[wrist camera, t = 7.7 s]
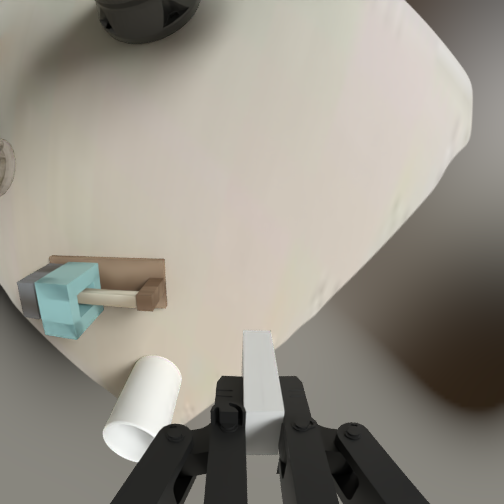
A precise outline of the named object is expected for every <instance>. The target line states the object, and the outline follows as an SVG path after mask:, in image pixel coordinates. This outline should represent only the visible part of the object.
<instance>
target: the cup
mask: <svg viewBox="0 0 504 504" xmlns="http://www.w3.org/2000/svg"><path fill="white" fill-rule="evenodd" d="M181 382H182V376H181V373H180V371H179V369H178V368H177V367H176V365H175V364H174V363H172V362H171V361H170V360H168V359H166V358H164V357H161V356H156V355H148V356H144V357H142V358H140V359H139V360H138V361H137V362H136V364H135V366H134V368H133V370H132V372H131V374H130V376H129V378H128V380H127V382H126V384H125V386H124V388H123V390H122V392H121V394H120V396H119V398H118V400H117V402H116V404H115V406H114V408H113V410H112V412H111V414H110V417H109V419H108V421H107V423H106V425H105V427H104V430H103V438H104V440H105V442H106V444H107V445H108V446H109V447H110V448H111V450H113V451H114V452H115V453H116V454H118V455H120V456H121V457H123V458H125V459H128V460H131V461H134V462H139V460H140V459H141V457H142V456H143V454H144V453H145V451H146V450H147V448H148V447H149V445H150V444H151V442H152V441H153V439H154V438H155V436H156V435H157V433H158V432H159V430H160V429H162V428H163V427H164V426H166V425H169V424H171V421H172V417H173V413H174V409H175V405H176V401H177V398H178V394H179V390H180V386H181Z"/></svg>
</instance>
